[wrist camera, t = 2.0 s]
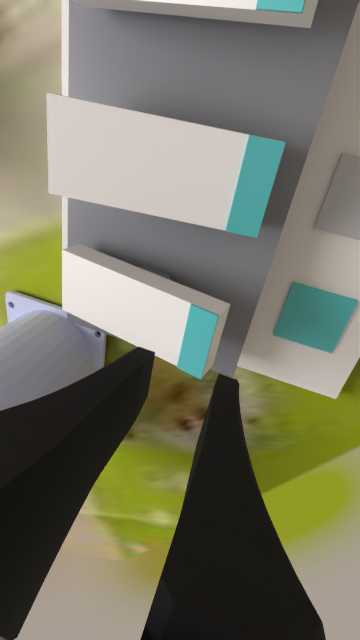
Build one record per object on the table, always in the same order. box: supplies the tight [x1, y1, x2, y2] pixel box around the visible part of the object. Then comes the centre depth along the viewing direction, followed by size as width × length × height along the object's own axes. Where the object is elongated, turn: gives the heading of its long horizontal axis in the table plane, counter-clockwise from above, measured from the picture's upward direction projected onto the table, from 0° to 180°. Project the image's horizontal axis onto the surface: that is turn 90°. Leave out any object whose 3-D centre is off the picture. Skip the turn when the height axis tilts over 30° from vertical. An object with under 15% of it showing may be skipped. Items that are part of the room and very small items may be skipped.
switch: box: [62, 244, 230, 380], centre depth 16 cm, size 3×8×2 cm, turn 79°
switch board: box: [62, 0, 360, 399], centre depth 15 cm, size 21×18×4 cm
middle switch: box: [46, 93, 286, 238], centre depth 13 cm, size 3×8×2 cm, turn 79°
